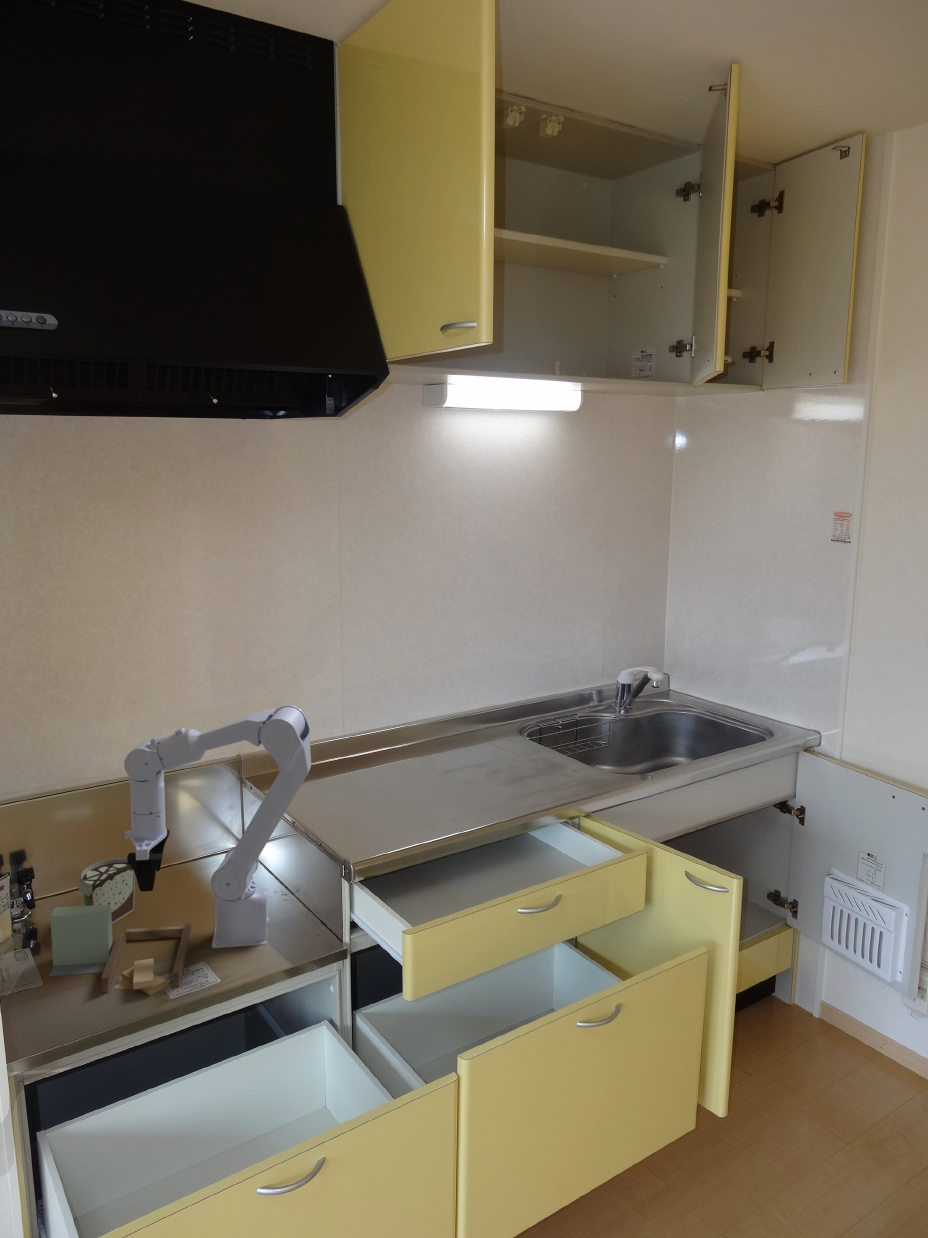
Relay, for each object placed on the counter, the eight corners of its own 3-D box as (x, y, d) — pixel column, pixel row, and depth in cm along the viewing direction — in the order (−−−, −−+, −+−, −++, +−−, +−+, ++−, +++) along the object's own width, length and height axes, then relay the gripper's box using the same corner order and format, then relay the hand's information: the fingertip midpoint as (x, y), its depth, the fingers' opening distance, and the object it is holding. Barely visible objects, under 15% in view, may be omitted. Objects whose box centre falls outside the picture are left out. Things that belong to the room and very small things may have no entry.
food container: (114, 900, 174) (111, 852, 173) (139, 906, 172) (137, 858, 170) (65, 930, 163) (62, 879, 161) (91, 937, 161) (88, 885, 159)
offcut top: (153, 987, 144) (153, 980, 144) (133, 990, 143) (133, 983, 143) (153, 965, 150) (153, 958, 150) (134, 967, 149) (134, 961, 149)
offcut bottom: (171, 986, 148) (171, 980, 148) (164, 997, 145) (164, 990, 145) (121, 984, 148) (121, 977, 148) (113, 995, 145) (113, 988, 145)
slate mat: (117, 946, 158) (117, 943, 158) (106, 974, 149) (106, 971, 149) (63, 949, 157) (63, 947, 156) (49, 978, 148) (49, 976, 148)
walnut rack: (191, 935, 162) (191, 920, 162) (179, 989, 146) (178, 972, 145) (122, 940, 160) (121, 924, 160) (101, 995, 144) (101, 978, 143)
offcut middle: (166, 987, 146) (165, 980, 146) (150, 996, 143) (150, 989, 143) (136, 971, 150) (136, 965, 150) (121, 979, 147) (121, 973, 147)
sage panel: (113, 952, 155) (110, 904, 154) (109, 962, 152) (107, 913, 151) (57, 956, 154) (55, 907, 152) (53, 966, 151) (50, 916, 149)
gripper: (131, 794, 165) (134, 863, 167) (116, 826, 151) (118, 901, 153) (171, 793, 166) (173, 861, 168) (159, 824, 152) (161, 898, 154)
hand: (150, 880), depth 161 cm, fingers open, 7 cm apart
